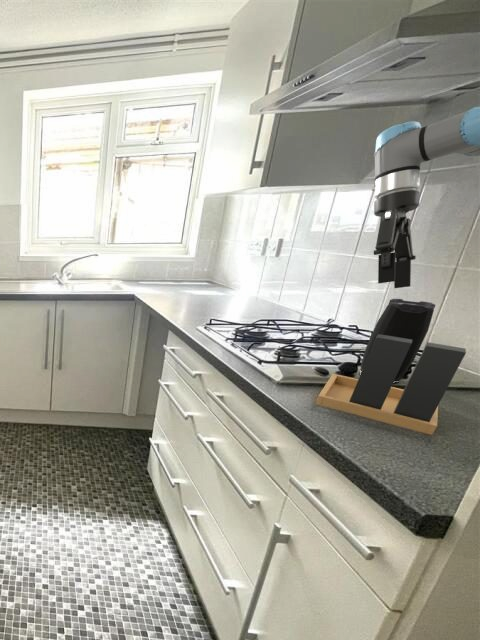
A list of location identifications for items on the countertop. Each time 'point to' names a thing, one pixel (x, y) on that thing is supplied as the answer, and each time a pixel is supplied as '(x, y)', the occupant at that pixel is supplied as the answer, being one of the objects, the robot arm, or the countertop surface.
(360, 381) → the charcoal box
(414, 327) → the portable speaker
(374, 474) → the countertop surface
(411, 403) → the charcoal box
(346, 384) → the oak tray
